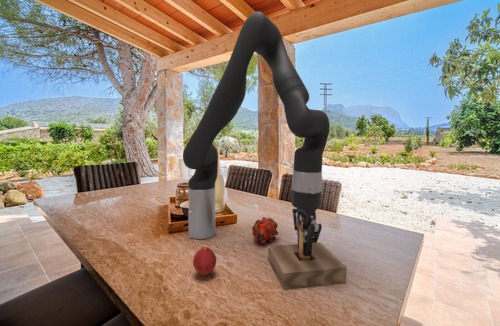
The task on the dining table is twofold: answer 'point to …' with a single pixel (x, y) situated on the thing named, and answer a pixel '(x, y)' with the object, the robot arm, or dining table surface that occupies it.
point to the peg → (301, 256)
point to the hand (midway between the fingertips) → (304, 251)
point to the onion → (204, 261)
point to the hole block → (305, 266)
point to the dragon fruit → (265, 230)
